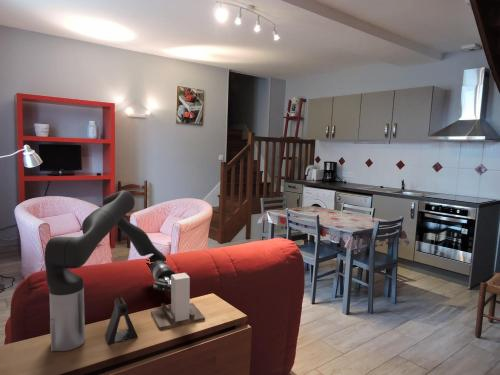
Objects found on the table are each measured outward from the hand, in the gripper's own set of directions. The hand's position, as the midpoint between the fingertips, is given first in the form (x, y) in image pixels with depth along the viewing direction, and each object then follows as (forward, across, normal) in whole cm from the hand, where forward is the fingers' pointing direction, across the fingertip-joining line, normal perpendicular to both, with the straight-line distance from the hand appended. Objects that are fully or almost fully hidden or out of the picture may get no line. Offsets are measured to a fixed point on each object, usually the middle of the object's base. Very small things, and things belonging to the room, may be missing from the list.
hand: (176, 291), depth 128 cm
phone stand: (+7, -20, +9) cm, 23 cm away
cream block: (+5, 0, +8) cm, 9 cm away
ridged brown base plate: (+1, 0, +9) cm, 9 cm away
